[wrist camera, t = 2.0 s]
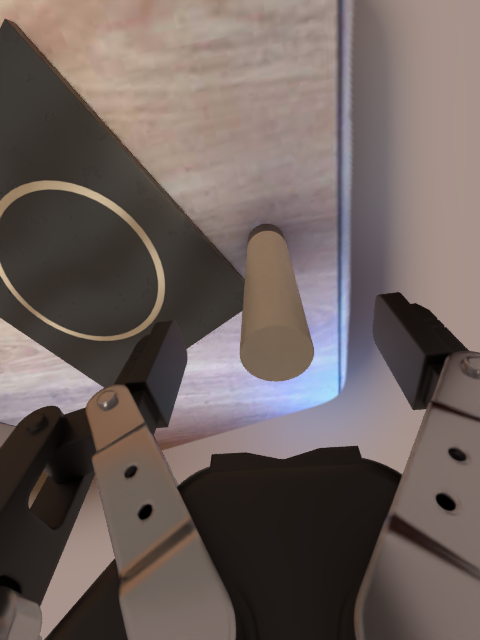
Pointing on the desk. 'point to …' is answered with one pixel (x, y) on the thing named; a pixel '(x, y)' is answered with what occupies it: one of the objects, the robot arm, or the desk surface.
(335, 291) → the desk surface
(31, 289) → the black flat square pad
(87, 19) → the desk surface
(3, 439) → the lighter
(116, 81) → the desk surface
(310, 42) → the desk surface
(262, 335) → the cylinder
